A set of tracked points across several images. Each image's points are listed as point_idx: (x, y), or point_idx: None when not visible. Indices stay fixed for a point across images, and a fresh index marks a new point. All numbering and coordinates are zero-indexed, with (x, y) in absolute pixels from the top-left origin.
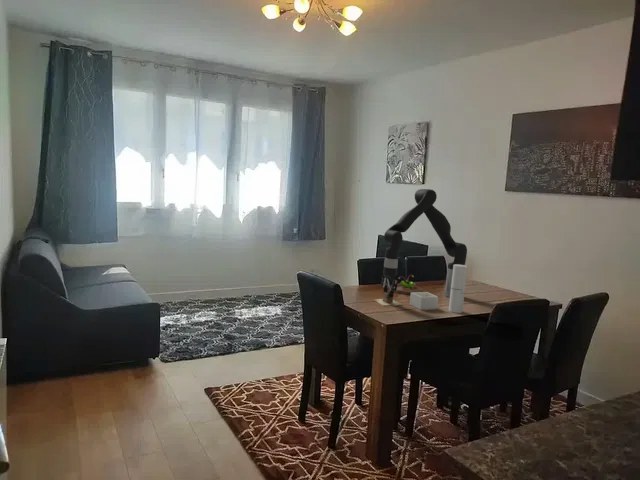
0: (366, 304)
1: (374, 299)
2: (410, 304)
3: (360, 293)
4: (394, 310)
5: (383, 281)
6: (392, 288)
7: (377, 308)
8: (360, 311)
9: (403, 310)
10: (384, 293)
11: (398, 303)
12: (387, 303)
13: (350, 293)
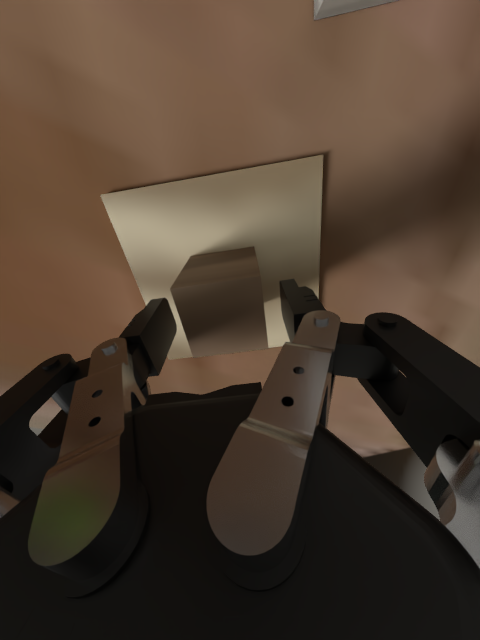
0: None
1: (173, 353)
2: (340, 9)
3: (4, 377)
4: (436, 301)
5: (52, 454)
6: (394, 391)
7: (357, 380)
8: (380, 448)
9: (473, 227)
10: (215, 349)
11: (286, 193)
12: (279, 300)
13: (40, 420)
